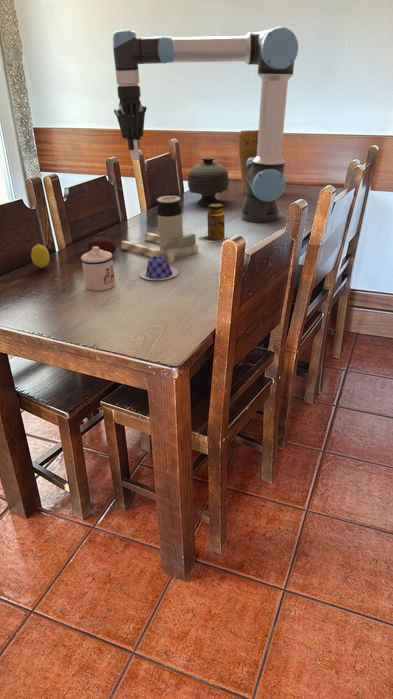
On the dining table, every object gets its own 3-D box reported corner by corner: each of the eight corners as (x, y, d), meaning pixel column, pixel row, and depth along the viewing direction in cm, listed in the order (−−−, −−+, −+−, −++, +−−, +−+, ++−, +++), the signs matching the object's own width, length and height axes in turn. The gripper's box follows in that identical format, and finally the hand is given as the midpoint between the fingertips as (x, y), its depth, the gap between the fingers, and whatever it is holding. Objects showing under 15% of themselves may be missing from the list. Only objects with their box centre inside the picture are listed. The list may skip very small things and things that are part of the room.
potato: (94, 251, 183) (92, 233, 180) (121, 253, 180) (119, 235, 177) (84, 258, 177) (81, 240, 174) (111, 260, 174) (109, 242, 171)
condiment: (229, 238, 190) (229, 205, 184) (210, 243, 186) (209, 209, 180) (217, 234, 195) (217, 201, 189) (198, 238, 191) (197, 205, 185)
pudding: (137, 270, 166) (136, 254, 163) (175, 266, 168) (174, 250, 165) (141, 284, 156) (140, 267, 153) (181, 280, 157) (181, 263, 155)
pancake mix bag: (277, 195, 243) (280, 130, 230) (237, 194, 248) (237, 130, 235) (279, 192, 249) (282, 128, 235) (240, 190, 254) (240, 128, 240)
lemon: (35, 272, 166) (31, 247, 163) (32, 267, 171) (27, 243, 167) (53, 269, 169) (49, 244, 165) (49, 264, 173) (44, 240, 169)
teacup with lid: (110, 292, 150) (105, 252, 145) (80, 291, 152) (74, 252, 146) (122, 276, 161) (118, 239, 155) (94, 275, 162) (89, 238, 156)
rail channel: (121, 248, 184) (120, 231, 181) (149, 239, 192) (147, 222, 189) (171, 262, 170) (169, 244, 167) (198, 251, 178) (197, 234, 175)
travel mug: (188, 250, 180) (185, 196, 171) (175, 257, 174) (171, 202, 165) (168, 247, 184) (165, 194, 175) (155, 254, 178) (151, 200, 169)
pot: (237, 198, 238) (234, 152, 227) (217, 211, 225) (213, 163, 215) (203, 196, 246) (199, 151, 236) (182, 208, 234) (177, 162, 224)
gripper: (135, 83, 182) (141, 155, 193) (105, 86, 174) (113, 161, 185) (150, 83, 177) (155, 157, 189) (120, 86, 169) (128, 163, 181)
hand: (135, 159), depth 187 cm, fingers closed
